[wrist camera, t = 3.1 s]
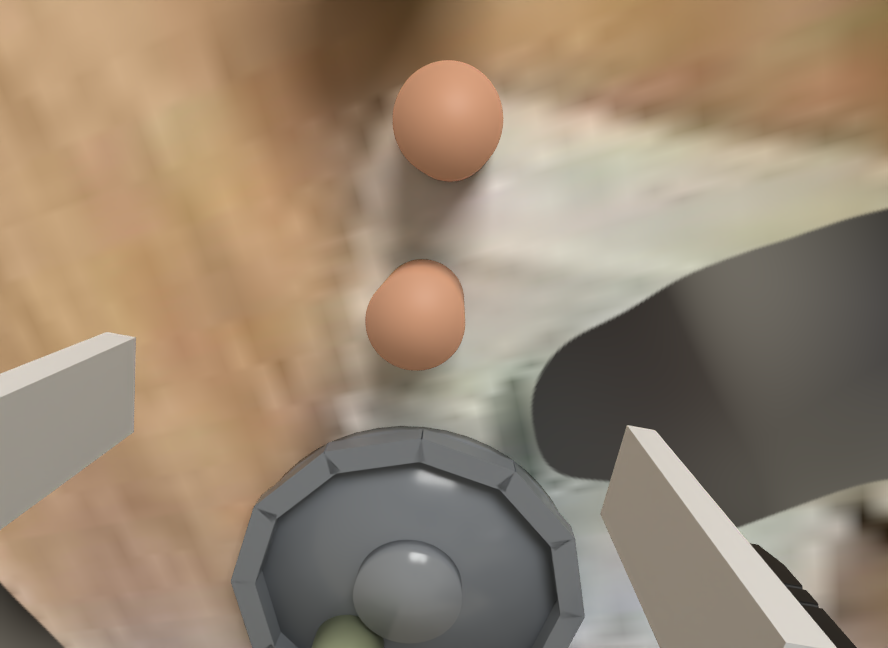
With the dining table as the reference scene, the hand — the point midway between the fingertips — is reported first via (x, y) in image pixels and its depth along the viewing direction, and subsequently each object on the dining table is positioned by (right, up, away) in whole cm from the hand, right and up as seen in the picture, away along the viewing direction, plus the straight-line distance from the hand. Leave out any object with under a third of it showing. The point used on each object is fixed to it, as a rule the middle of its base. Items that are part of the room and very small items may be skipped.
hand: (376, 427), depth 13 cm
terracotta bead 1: (+2, +13, +14) cm, 19 cm away
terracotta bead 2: (+1, +4, +16) cm, 17 cm away
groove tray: (0, -14, +21) cm, 25 cm away
